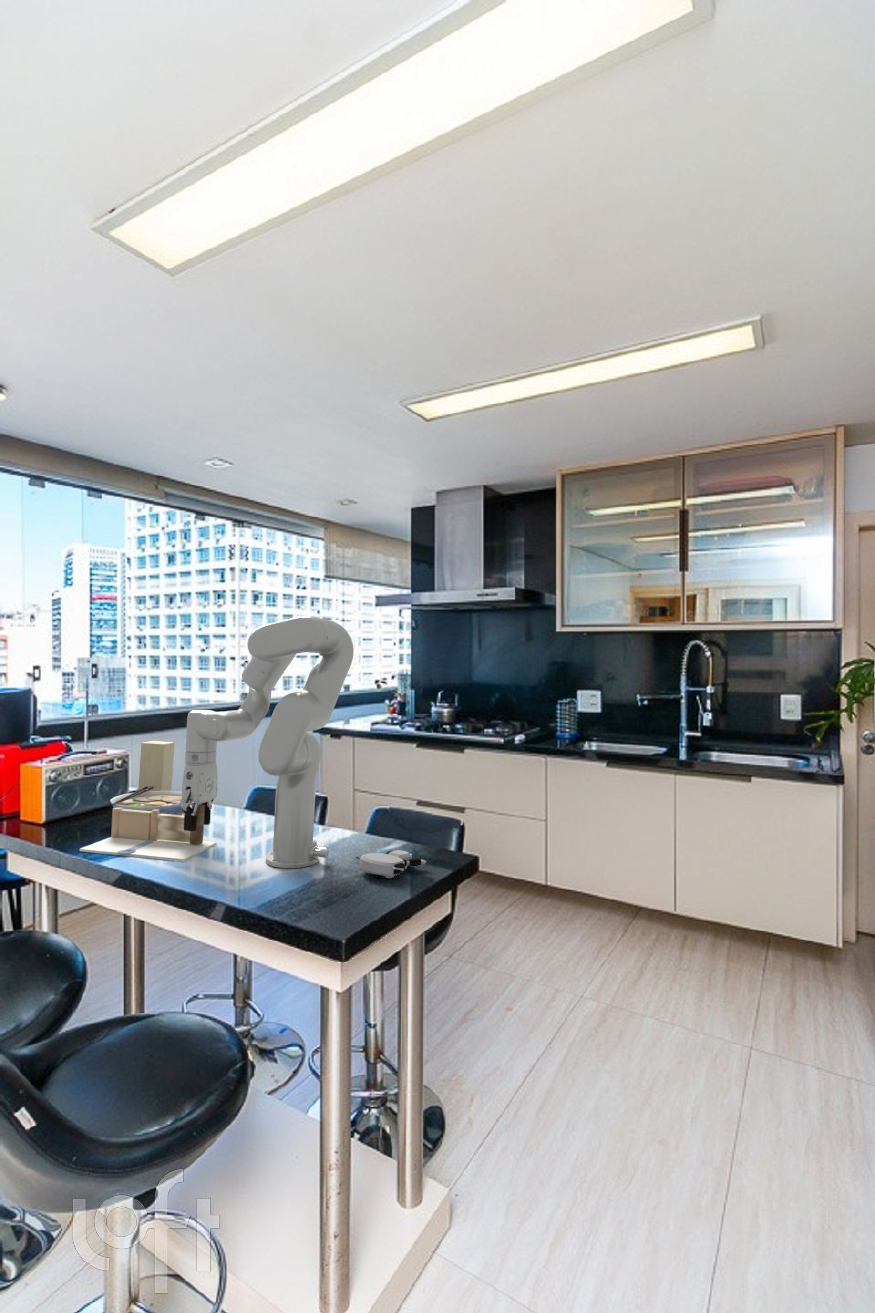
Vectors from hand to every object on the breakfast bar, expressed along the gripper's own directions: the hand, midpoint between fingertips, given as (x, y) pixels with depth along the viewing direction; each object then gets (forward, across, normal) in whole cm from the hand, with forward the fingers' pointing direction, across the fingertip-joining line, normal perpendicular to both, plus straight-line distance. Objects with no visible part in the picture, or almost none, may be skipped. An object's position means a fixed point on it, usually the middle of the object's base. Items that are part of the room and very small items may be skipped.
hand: (197, 826), depth 159 cm
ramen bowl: (+5, +17, +24) cm, 30 cm away
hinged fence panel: (+4, 0, +5) cm, 6 cm away
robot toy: (+5, -5, -53) cm, 53 cm away
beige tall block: (+5, +36, +36) cm, 51 cm away
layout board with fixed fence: (+5, -5, +10) cm, 12 cm away
